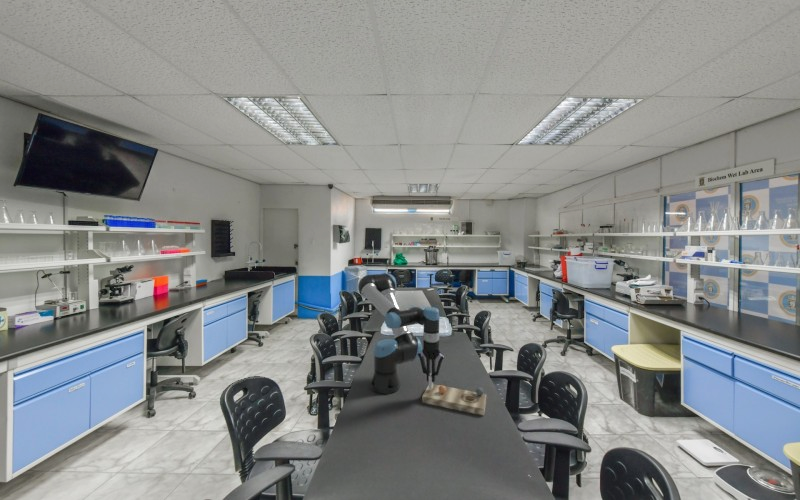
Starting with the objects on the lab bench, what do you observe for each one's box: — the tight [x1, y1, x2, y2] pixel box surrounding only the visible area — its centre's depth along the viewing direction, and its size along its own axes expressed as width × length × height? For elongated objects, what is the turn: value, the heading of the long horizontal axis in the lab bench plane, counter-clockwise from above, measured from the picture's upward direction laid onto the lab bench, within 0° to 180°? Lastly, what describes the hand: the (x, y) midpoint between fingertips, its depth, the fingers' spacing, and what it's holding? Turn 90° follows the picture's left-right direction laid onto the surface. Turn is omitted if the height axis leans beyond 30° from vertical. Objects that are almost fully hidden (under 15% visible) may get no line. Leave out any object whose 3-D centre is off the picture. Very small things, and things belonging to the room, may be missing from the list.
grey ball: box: [475, 387, 484, 396], centre depth 141 cm, size 4×4×4 cm
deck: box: [421, 383, 487, 417], centre depth 141 cm, size 28×13×3 cm, turn 70°
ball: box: [439, 384, 446, 393], centre depth 143 cm, size 4×4×4 cm
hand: (430, 387), depth 145 cm, fingers closed
